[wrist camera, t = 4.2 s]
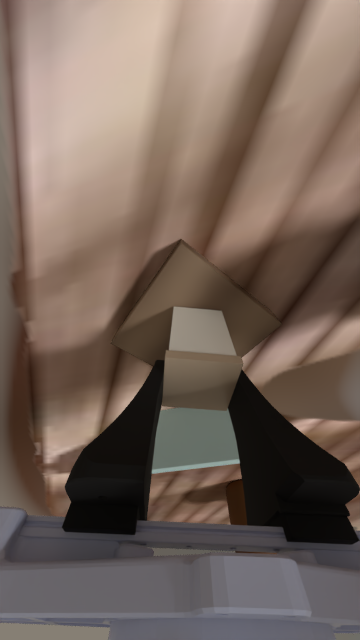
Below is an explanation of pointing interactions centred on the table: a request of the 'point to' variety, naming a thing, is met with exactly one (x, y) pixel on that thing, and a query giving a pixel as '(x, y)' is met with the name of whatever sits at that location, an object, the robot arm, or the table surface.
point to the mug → (238, 507)
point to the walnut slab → (191, 292)
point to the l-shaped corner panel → (193, 440)
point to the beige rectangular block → (200, 361)
